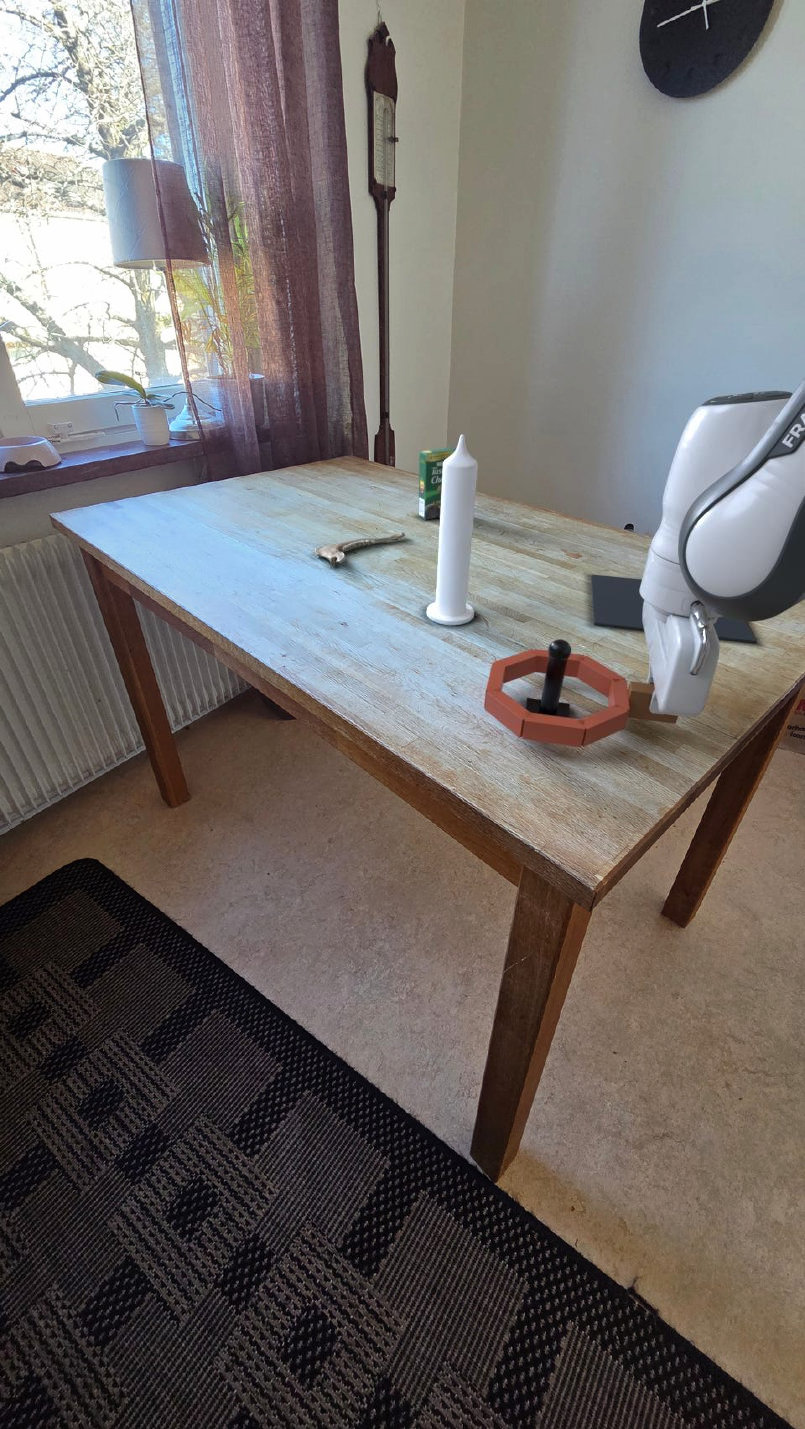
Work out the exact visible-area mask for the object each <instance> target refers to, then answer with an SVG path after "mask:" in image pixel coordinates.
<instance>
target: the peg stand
mask: <svg viewBox="0 0 805 1429" xmlns="http://www.w3.org/2000/svg"><path fill="white" fill-rule="evenodd" d="M547 648H548V649H547V651H548V654H549V658H548V664H547V669H546V674H545V675H544V681H543V686H542V691H541V696H540V699H539V698H533V697H531V698H530V697H526V701H525V707H524V708H525V709H527V710H528V711H529V712H531V713H536V714H544V715H551V716H558V717H565V718H571V703H568V702H561V701H560V698H561V694H562V689H563V685H564V679H565V676H564V675H565V670H566V665H567V660H568V658H569V656H570V654H571V653H572V646H571V643H569V642H568V641H567V640H565V639H563V638H558V639H555V640H553V641H552V642H551V643H550V644H549V645H548V647H547Z"/></svg>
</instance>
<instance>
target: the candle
mask: <svg viewBox="0 0 805 1429" xmlns="http://www.w3.org/2000/svg"><path fill="white" fill-rule="evenodd" d="M456 448H457V449H456V451H455V452H454V453H453V454H452V455H451V456H450V457H448V458H447V459H445V460H444V462H443V474H442V493H441V512H440V517H439V531H438V532H439V533H438V550H437V551H438V553H437V571H436V572H437V574H436V589H435V590H436V593H435V601H433V602H431V603H430V604H429V605H428V606H427V608H426V616H427V617H428V618H429V620H430V621H432V622H434V623H437V624H440V625H444V626H445V625H446V626H459V625H464V624H467V623H469V622H471V621H472V620H473V619H474V616H475V610H474V608H473V606H472V605H470V604H469V603H467V601H468V587H469V578H470V565H471V552H472V540H473V539H472V538H473V529H474V519H475V518H474V516H475V506H476V505H475V503H476V494H477V483H478V470H479V462H478V460H476V459H475V458H474V457H473V456H472V455H471V454H470V453H469V452H468V449H467V444H466V436H465V434H463V433H462V434H460V436H459V440H458V443H457V446H456Z"/></svg>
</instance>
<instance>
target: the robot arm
mask: <svg viewBox="0 0 805 1429" xmlns="http://www.w3.org/2000/svg"><path fill="white" fill-rule="evenodd" d="M691 414H692V415H691V416H690V418H689V419H688V421H687V423H686V425H685V427H684V429H683V432H682V434H681V436H680V438H679V441H678V444H677V447H676V450H675V452H674V456H673V459H672V462H671V466H670V469H669V472H668V475H667V479H666V483H665V487H664V490H663V497H662V517H661V522H660V525H659V526H658V529H657V531H656V532H655V534H654V535H653V537H652V540H651V543H650V547H649V549H648V551H647V556H646V559H645V566H644V569H643V575H642V577H641V578H642V582H641V586H640V595H641V597H642V598H643V599H644V604H643V614H642V621H643V626H644V637H645V643H646V646H647V653H648V658H649V665H648V676H647V679H646V683H649V684H654V686H655V690H654V692H651V696H650V700H649V709H650V712H651V713H654V714H662V715H663V714H668V715H675V716H678V717H684V718H697V717H698V716H699V715H701V713H702V712H703V711H704V709H705V707H706V703H707V700H708V697H709V695H710V692H711V691H710V690H711V687H712V685H713V681H714V677H715V673H716V670H717V666H718V662H719V656H720V639H718V637H717V634H716V631H715V629H714V626H713V624H714V623H715V622H716V621H717V618H718V617H722V616H723V617H726V618H729V619H732V620H737V621H744V622H747V623H749V622H750V623H751V622H754V623H755V622H761V621H766V620H769V619H772V618H775V617H777V616H780V615H781V614H782V613H784V612H786V611H788V610H789V609H792V607H794V606H796V605H798V604H799V603H802V601H805V376H804V377H803V379H802V380H801V381H800V383H799V384H798V385H797V388H796V389H795V390H794V391H793V392H791V391H785V390H767V391H754V392H746V393H738V394H730V395H723V396H716V397H713V398H711V399H708V400H706V401H704V402H703V403H702V404H701V405H699V406H697V407H696V409H695V410H694V411H693V413H691Z"/></svg>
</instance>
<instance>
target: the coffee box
mask: <svg viewBox="0 0 805 1429" xmlns="http://www.w3.org/2000/svg"><path fill="white" fill-rule="evenodd" d="M456 449H457V447H454V446H449V447H443V448H436V449H429V450H421V451H419V453H418V462H419V463H418V508H417V510H418V517H419V518H420V519H423V520H424V521H426V520H432V519H437V518H440V512H441V493H442V474H443V462H444V460H445V459H447V458H448V457H450V456H451V455H452V454H453V453H454V452H455V451H456Z"/></svg>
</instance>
